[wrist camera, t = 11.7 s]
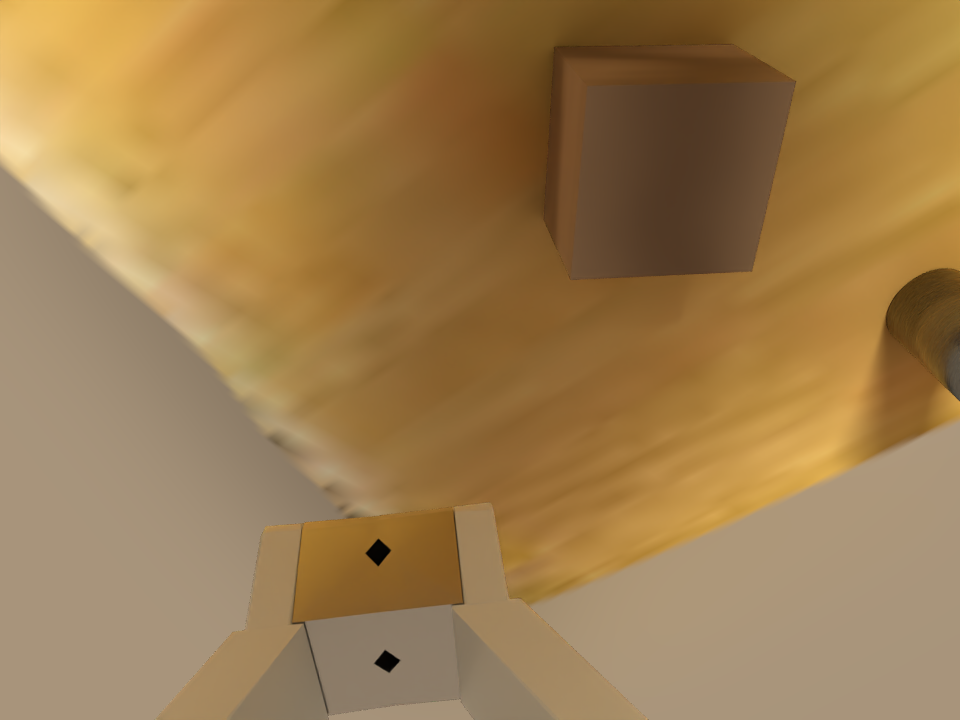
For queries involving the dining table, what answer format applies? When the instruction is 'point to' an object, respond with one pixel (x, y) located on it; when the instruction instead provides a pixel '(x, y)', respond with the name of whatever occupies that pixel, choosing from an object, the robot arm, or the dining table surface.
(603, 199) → the walnut block
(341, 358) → the dining table surface
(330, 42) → the dining table surface
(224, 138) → the dining table surface
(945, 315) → the gate posts
